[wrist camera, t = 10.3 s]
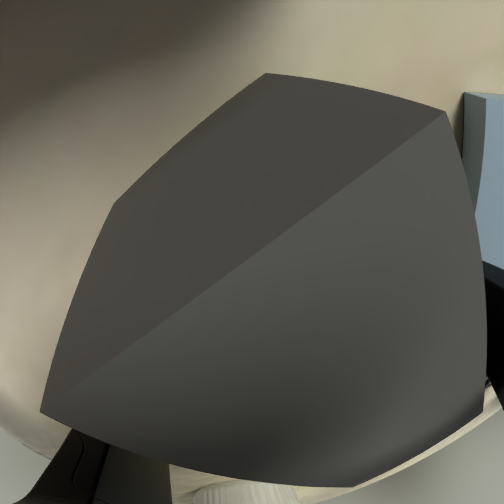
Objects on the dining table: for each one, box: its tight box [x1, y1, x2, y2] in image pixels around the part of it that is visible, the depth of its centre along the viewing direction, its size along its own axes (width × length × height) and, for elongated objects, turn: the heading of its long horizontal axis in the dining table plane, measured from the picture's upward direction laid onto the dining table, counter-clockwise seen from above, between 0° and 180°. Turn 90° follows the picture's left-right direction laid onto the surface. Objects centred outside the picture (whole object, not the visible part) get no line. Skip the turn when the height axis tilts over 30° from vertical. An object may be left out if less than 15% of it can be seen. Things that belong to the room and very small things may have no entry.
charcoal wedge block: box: [40, 73, 487, 487], centre depth 8 cm, size 11×5×6 cm, turn 38°
